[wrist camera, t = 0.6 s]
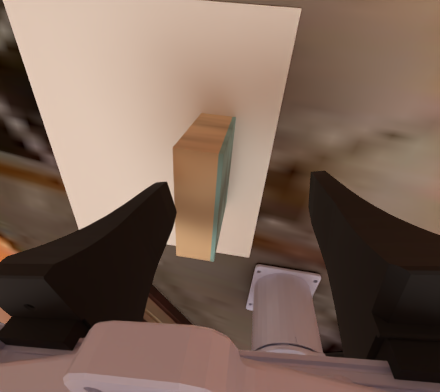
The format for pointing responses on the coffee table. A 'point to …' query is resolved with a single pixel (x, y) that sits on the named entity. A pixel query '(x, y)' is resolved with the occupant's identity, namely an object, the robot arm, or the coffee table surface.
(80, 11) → the mat
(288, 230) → the coffee table surface
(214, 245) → the tile
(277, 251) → the coffee table surface
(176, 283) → the coffee table surface
